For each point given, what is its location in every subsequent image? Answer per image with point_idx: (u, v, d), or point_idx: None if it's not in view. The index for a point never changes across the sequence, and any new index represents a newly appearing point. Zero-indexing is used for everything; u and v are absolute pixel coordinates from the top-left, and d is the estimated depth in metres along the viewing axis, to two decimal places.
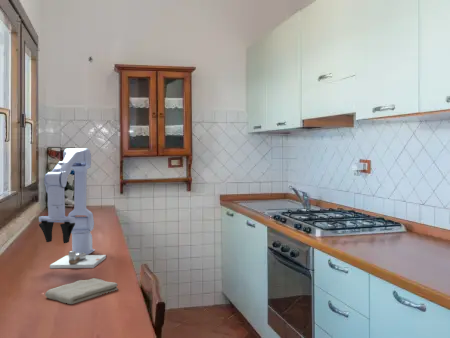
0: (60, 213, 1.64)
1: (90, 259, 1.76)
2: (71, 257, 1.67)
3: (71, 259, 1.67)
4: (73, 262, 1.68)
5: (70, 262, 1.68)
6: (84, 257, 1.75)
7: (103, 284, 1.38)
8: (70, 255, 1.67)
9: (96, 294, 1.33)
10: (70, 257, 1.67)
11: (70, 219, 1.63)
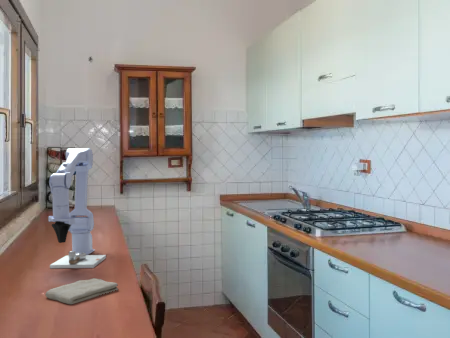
0: (61, 214, 1.67)
1: (90, 259, 1.76)
2: (71, 257, 1.67)
3: (71, 259, 1.67)
4: (73, 262, 1.68)
5: (70, 262, 1.68)
6: (84, 257, 1.75)
7: (103, 284, 1.37)
8: (70, 255, 1.67)
9: (96, 294, 1.33)
10: (70, 257, 1.67)
11: (69, 220, 1.64)
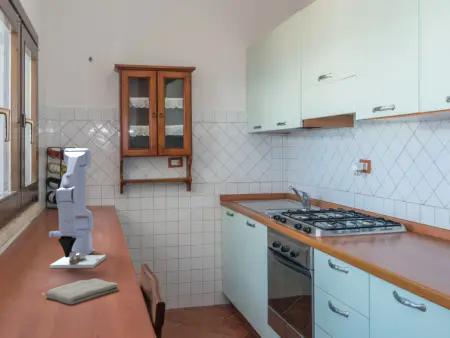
0: (71, 229, 1.67)
1: (90, 259, 1.76)
2: (72, 257, 1.67)
3: (71, 259, 1.67)
4: (73, 262, 1.68)
5: (70, 262, 1.68)
6: (84, 257, 1.75)
7: (103, 284, 1.37)
8: (70, 255, 1.67)
9: (96, 294, 1.33)
10: (70, 257, 1.67)
11: (81, 234, 1.66)
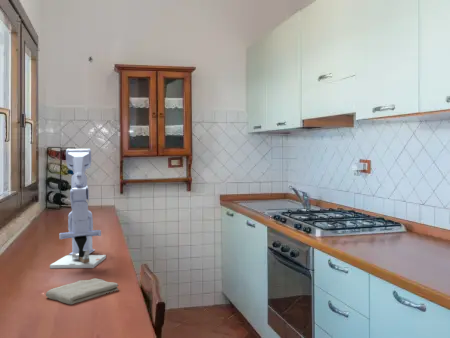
0: (88, 228, 1.69)
1: (90, 259, 1.76)
2: (87, 256, 1.69)
3: (87, 258, 1.69)
4: (88, 260, 1.70)
5: (85, 261, 1.69)
6: None
7: (104, 284, 1.37)
8: (86, 254, 1.69)
9: (96, 294, 1.33)
10: (86, 256, 1.69)
11: (99, 232, 1.71)
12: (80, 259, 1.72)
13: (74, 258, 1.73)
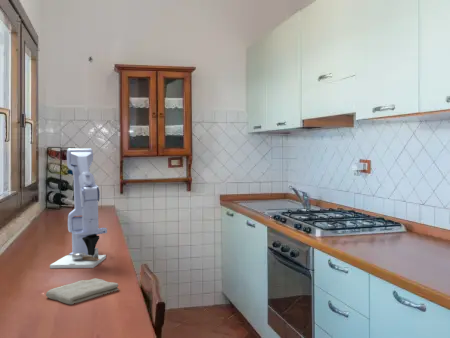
0: None
1: None
2: None
3: (97, 255, 1.73)
4: (97, 258, 1.74)
5: (96, 258, 1.73)
6: None
7: (104, 284, 1.37)
8: (97, 251, 1.73)
9: (96, 294, 1.33)
10: (97, 253, 1.73)
11: (106, 229, 1.77)
12: (87, 258, 1.73)
13: (78, 258, 1.73)
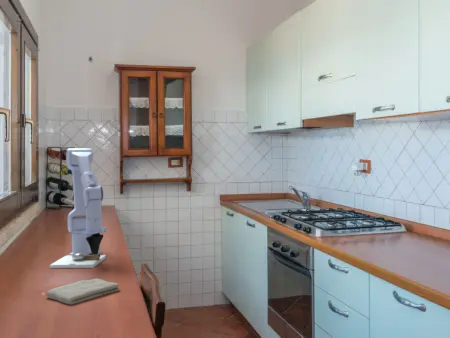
0: None
1: (90, 259, 1.76)
2: (100, 252, 1.76)
3: (100, 254, 1.76)
4: (99, 256, 1.76)
5: (99, 257, 1.75)
6: None
7: (104, 284, 1.37)
8: (100, 250, 1.75)
9: (96, 294, 1.33)
10: (100, 252, 1.75)
11: (106, 228, 1.79)
12: (89, 257, 1.74)
13: (80, 258, 1.73)
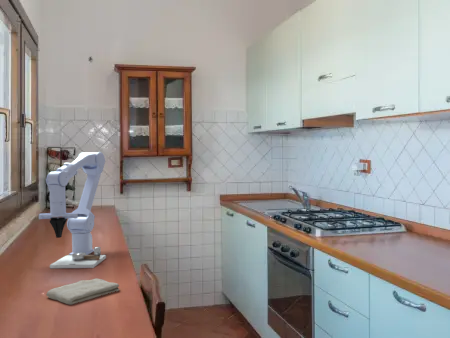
0: (63, 210, 1.77)
1: (90, 259, 1.76)
2: (100, 252, 1.76)
3: (100, 254, 1.76)
4: (99, 256, 1.76)
5: (99, 257, 1.75)
6: None
7: (104, 285, 1.37)
8: (100, 250, 1.75)
9: (96, 295, 1.33)
10: (100, 252, 1.75)
11: (74, 215, 1.77)
12: (89, 257, 1.75)
13: (80, 258, 1.73)
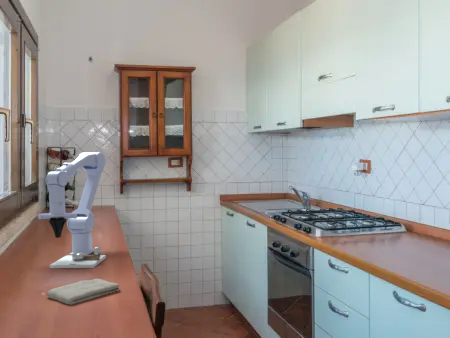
0: (62, 210, 1.77)
1: (90, 259, 1.76)
2: (100, 252, 1.76)
3: (100, 254, 1.76)
4: (99, 256, 1.76)
5: (99, 257, 1.75)
6: None
7: (104, 285, 1.37)
8: (100, 250, 1.75)
9: (97, 295, 1.32)
10: (100, 252, 1.75)
11: (73, 215, 1.77)
12: (89, 257, 1.75)
13: (80, 258, 1.73)
